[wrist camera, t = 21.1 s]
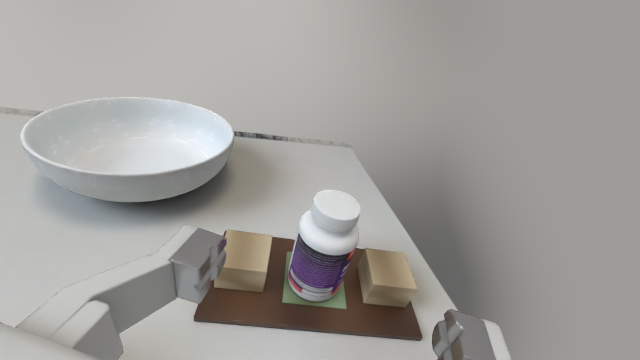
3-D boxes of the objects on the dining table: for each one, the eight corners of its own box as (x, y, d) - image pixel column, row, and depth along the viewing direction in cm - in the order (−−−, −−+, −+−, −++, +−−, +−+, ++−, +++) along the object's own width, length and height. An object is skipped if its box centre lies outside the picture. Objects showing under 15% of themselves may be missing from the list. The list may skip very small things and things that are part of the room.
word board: (392, 256, 34) (403, 235, 32) (420, 340, 25) (437, 319, 24) (225, 234, 31) (226, 209, 29) (193, 321, 23) (192, 294, 21)
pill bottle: (343, 305, 26) (377, 229, 21) (286, 302, 25) (307, 222, 20) (335, 259, 30) (361, 188, 25) (287, 255, 29) (304, 180, 24)
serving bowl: (236, 145, 48) (239, 107, 44) (223, 232, 31) (226, 182, 27) (95, 130, 42) (84, 85, 39) (-14, 225, 26) (-51, 161, 22)
